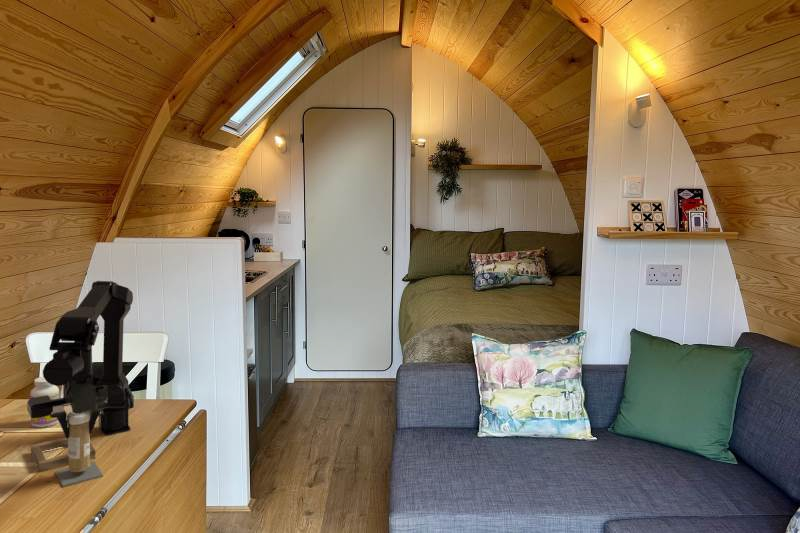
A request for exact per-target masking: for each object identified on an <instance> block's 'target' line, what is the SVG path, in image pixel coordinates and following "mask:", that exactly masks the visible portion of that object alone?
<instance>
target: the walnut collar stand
mask: <svg viewBox="0 0 800 533" xmlns="http://www.w3.org/2000/svg"><path fill="white" fill-rule="evenodd" d="M58 447H63V448H62V449H65V448H68V438H67V439H66V437H61V438H57V439H53V440H48V441H43V442H39V443H34V444H31V445H30V454H31V453H32V454H31V456H32V455H33V456H32V458H33V457H34V458H33V460H34V459H35V460H34V462H36V463H35V465H36V464H37V465H36V467H37V470H38V472H39V473H40V472H45V471H50V470H53V469H57V468H61V467H66V466H69V457H68V454H64V455H63V454H62V455H59V456H55V457H50V458H47V459H46V457H45V455H44V453H42V451H45V450H50V449H54V448H58ZM94 459H96V449H95V448H94V446H93V445H92V443H91V442H90V460H94Z"/></svg>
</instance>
